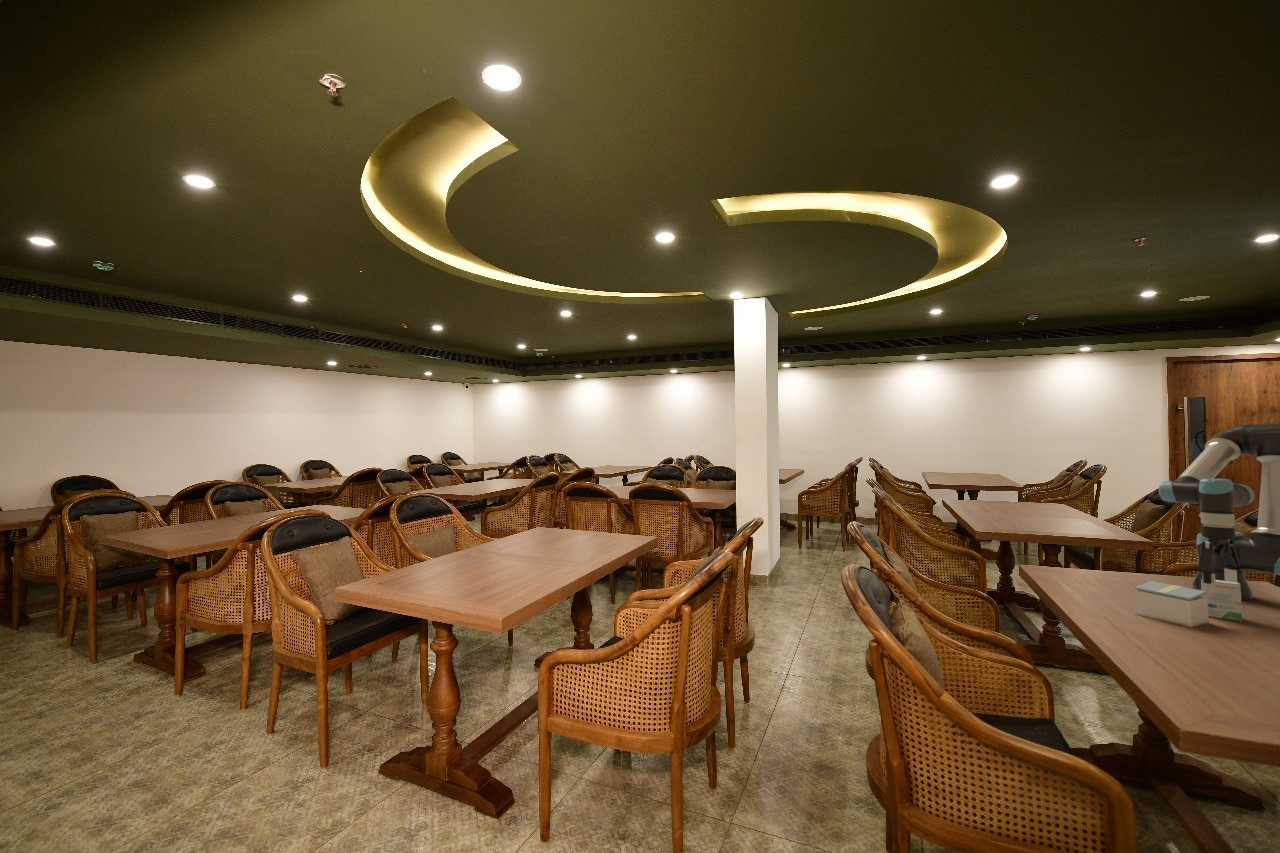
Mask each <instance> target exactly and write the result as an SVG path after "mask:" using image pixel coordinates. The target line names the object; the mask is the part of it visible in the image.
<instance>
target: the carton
mask: <svg viewBox="0 0 1280 853" xmlns="http://www.w3.org/2000/svg"><path fill="white" fill-rule="evenodd" d="M1133 591H1134V592H1133V593H1134V612H1135V614H1134V615H1137V616H1142V617H1146V618H1152V619H1155V620H1158V621H1164V622H1168V623H1172V624H1176V625H1180V626H1185V627H1190V628H1194V627H1199V626H1202V625H1205V624H1208V623H1209V622H1210V621H1209V616H1208V601H1207V597H1203V596H1199V597H1197V598H1194V599H1192V600H1186V599H1181V598H1176V597H1171V596H1166V595H1161V594H1156V593H1152V592H1147V591H1142V590H1137V589H1133Z"/></svg>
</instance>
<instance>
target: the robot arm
mask: <svg viewBox="0 0 1280 853" xmlns="http://www.w3.org/2000/svg"><path fill="white" fill-rule="evenodd" d="M1241 456H1256V460H1257V461H1258V462H1260V463H1261V475H1260V476H1261V478H1260V489H1259V490H1260V491H1259V502H1258V516H1257V526H1256V528H1255V529H1253V530H1252V531H1250V533H1249V534H1250V535H1249V537H1244V535H1243V533H1242V532H1239V531H1238V532H1237V531H1236V529H1235V528H1234V526H1236V520H1235V518H1236V517H1235V507H1238V508H1241V507H1244V506H1248V505H1250V504H1251V503H1253V501H1254V500H1255V498H1256V497H1255V492H1254V490H1253V489H1252V488H1251V487H1250V486H1248V485H1245V484H1242V483H1233V481H1232V480H1231V479H1228V478H1216V477H1217V476H1218V474H1219V473H1221V472H1222V471H1223V469H1224V468H1225V467H1226V466H1227V465H1228V464H1229V462H1230V461H1233V460H1236V459H1237V458H1239V457H1241ZM1158 494H1159V497H1160V498H1161V500H1162V501H1165V502H1169V503H1170V502H1171V503H1176V504H1177V503H1179V504H1181V503H1182V504H1197V505H1199V506H1200V509H1199V511H1200V514H1198V517H1200V523H1201V524H1202V525H1201V526H1200V532H1199V533H1198V534H1197V535H1196V543H1195V546H1196V557H1197V573H1196V574H1195V577H1194V579H1193V582H1192V585H1191V586H1192V588H1191V589H1196V590H1201V580H1202V581H1203V591H1207V593H1208V594H1214V595H1215V594H1216V588H1215V580H1222V581H1230V582H1238V583H1240V589H1241V601H1245V600H1246V601H1247V600H1248V601H1249V600H1253V599H1254V595H1253V590H1252V588H1251V587H1250V585H1249V583H1248V580H1247V579H1246V576H1245V570H1246V571H1252V572H1259V573H1265V574H1271V575H1276V576H1280V422H1277V423H1276V422H1273V423H1244V424H1238V425H1235V426H1232V427H1229V428H1226V429H1224V430H1222V431H1220V432H1218V433H1216V434H1215V435H1213V436H1212V437H1211V438H1209V439H1208V440H1207V441H1206V443H1205V444H1204V450H1203V451H1202V452H1201V453H1200V454H1199V455H1198V456H1197V457H1196V458H1195V459H1194V460H1193V461H1192V462H1191V463H1190V464H1189V465H1188V467H1187V468H1185V470H1184V471H1183V472H1182V473H1181V474H1180V475H1179V476H1178V477H1177V478H1176V479H1175V480H1174V481H1173V480H1165V481H1161V483H1160V484H1159V486H1158Z"/></svg>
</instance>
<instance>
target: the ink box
mask: <svg viewBox="0 0 1280 853" xmlns="http://www.w3.org/2000/svg"><path fill="white" fill-rule="evenodd" d="M1215 588H1216V594H1215V595H1214V594H1208V593H1207V594H1204V595H1202V596H1203V597H1207V601H1208V617H1210V618H1211V617H1212V618H1217V619H1221V620H1229V621H1235V622H1241V623H1242V622H1243V605H1242V600H1241V589H1240V583H1238V582H1230V581H1222V580H1215ZM1201 590H1202V591H1203V581H1202V580H1201Z"/></svg>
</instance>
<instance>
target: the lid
mask: <svg viewBox="0 0 1280 853" xmlns="http://www.w3.org/2000/svg"><path fill="white" fill-rule="evenodd" d="M1136 589H1137V590H1142V591H1147V592H1152V593H1156V594H1161V595H1166V596H1171V597H1176V598H1181V599H1186V600H1192V599H1194V598H1197V597H1199V596H1202V595H1204V594H1207V591H1202V590H1196V589H1192V588H1191V587H1190V588H1189V587H1185V586H1181V585H1175V584H1169V583H1163V582H1158V581H1153V580H1150V581H1147V582H1145V583H1142V584H1139V585H1135V586H1134V587H1133V590H1136Z"/></svg>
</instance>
